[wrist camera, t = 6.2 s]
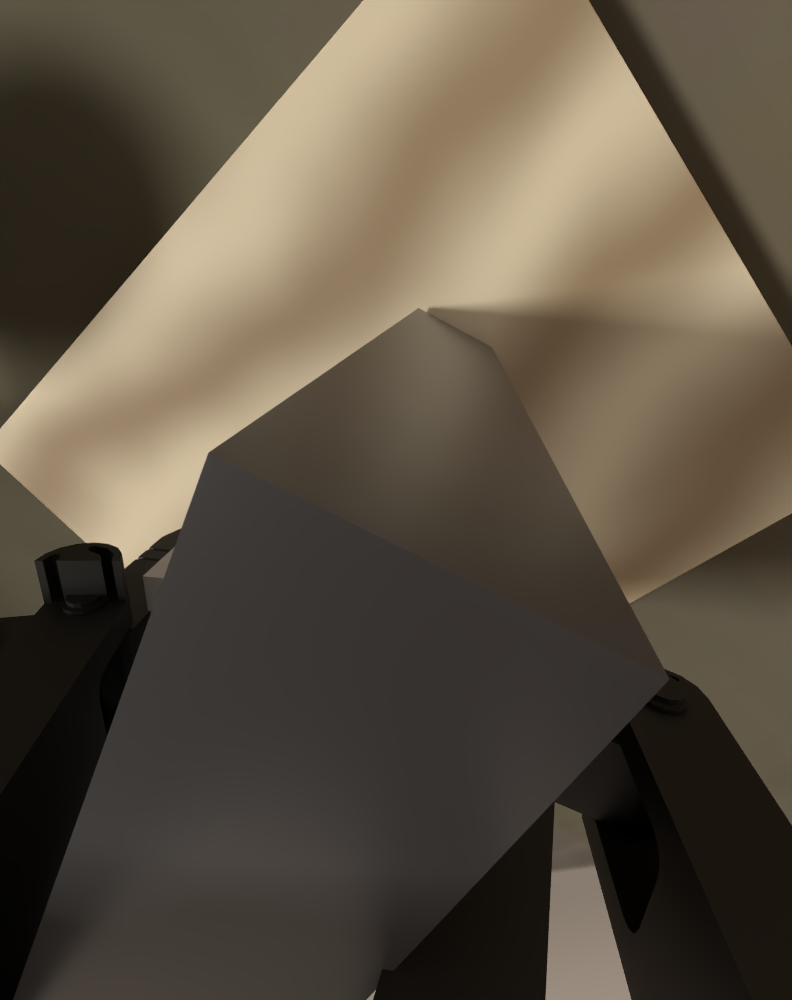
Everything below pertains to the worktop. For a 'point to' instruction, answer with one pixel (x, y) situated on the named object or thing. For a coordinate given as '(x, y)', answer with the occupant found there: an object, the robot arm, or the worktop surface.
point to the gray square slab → (343, 691)
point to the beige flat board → (443, 288)
